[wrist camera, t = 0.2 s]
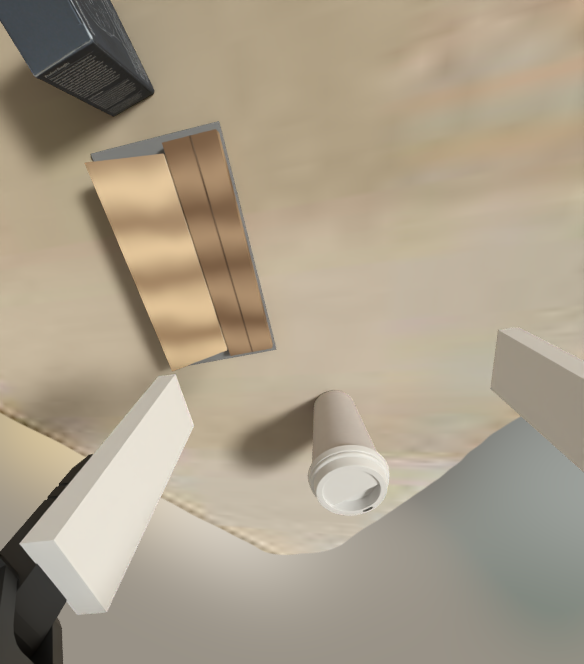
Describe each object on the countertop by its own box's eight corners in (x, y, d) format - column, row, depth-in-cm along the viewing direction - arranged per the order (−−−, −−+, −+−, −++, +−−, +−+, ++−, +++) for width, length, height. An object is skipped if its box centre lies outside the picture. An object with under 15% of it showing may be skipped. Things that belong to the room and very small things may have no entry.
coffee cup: (311, 435, 48) (318, 525, 34) (297, 388, 45) (299, 468, 31) (368, 424, 47) (399, 513, 33) (359, 376, 44) (389, 452, 30)
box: (65, 31, 28) (-54, -63, 19) (112, 0, 28) (13, -115, 18) (113, 119, 31) (31, 77, 22) (157, 94, 30) (93, 38, 21)
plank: (86, 166, 29) (84, 162, 28) (164, 156, 32) (165, 153, 31) (171, 367, 38) (172, 371, 37) (225, 346, 41) (228, 349, 40)
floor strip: (167, 145, 32) (161, 142, 30) (219, 132, 31) (215, 128, 30) (232, 351, 42) (230, 356, 40) (272, 343, 41) (272, 348, 40)
